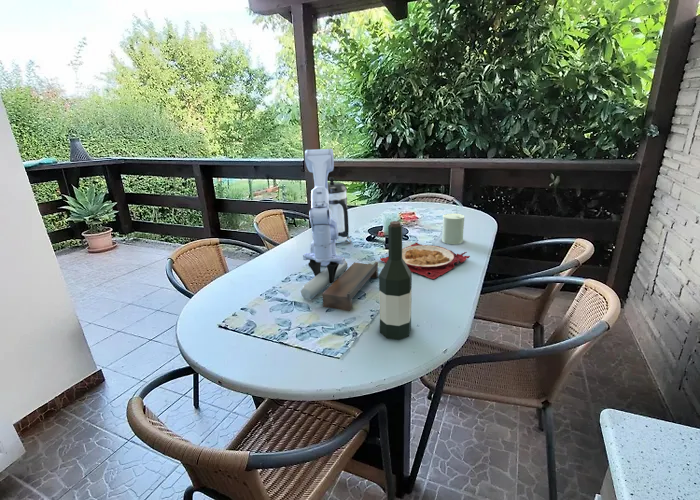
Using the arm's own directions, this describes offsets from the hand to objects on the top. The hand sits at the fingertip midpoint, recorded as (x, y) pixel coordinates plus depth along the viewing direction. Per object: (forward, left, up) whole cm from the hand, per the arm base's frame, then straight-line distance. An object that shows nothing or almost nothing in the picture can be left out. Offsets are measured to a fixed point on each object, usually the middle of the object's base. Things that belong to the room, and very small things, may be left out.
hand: (325, 281), depth 124 cm
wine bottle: (+30, -19, -2) cm, 36 cm away
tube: (0, 0, -2) cm, 2 cm away
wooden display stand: (+10, 0, -2) cm, 10 cm away
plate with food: (+27, +32, -2) cm, 42 cm away
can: (+34, +59, -2) cm, 68 cm away
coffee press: (-15, +43, -2) cm, 46 cm away
